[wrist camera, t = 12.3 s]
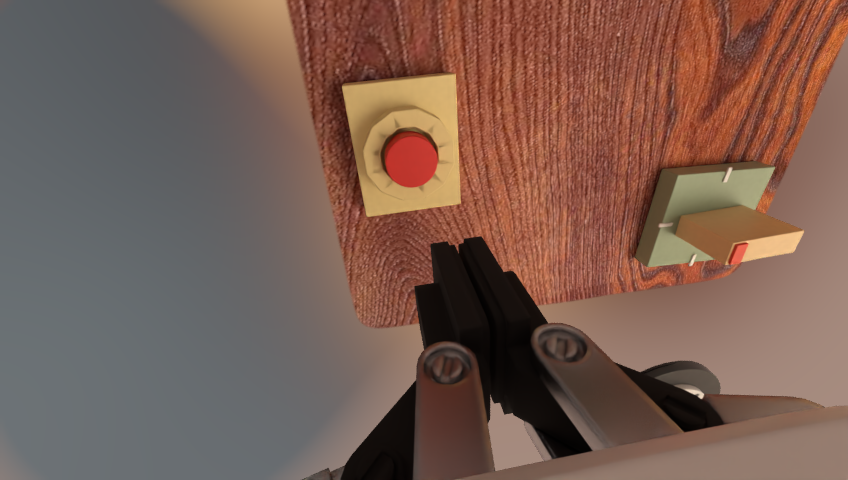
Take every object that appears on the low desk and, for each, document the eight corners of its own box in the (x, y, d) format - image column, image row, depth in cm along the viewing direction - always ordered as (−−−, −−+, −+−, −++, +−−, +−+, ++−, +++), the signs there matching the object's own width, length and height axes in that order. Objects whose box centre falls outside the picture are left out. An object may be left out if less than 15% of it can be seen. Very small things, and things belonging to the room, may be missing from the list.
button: (435, 176, 26) (439, 184, 24) (388, 183, 26) (389, 191, 24) (431, 127, 24) (436, 133, 23) (381, 134, 24) (381, 139, 22)
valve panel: (717, 250, 39) (735, 260, 37) (630, 260, 37) (644, 271, 36) (759, 157, 33) (782, 163, 32) (659, 165, 32) (677, 172, 30)
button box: (455, 194, 31) (466, 212, 27) (366, 207, 30) (366, 227, 27) (449, 71, 26) (461, 74, 22) (343, 83, 25) (339, 88, 22)
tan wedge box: (742, 204, 33) (808, 231, 28) (734, 224, 34) (796, 253, 29) (680, 215, 33) (736, 244, 28) (674, 235, 34) (727, 266, 29)
